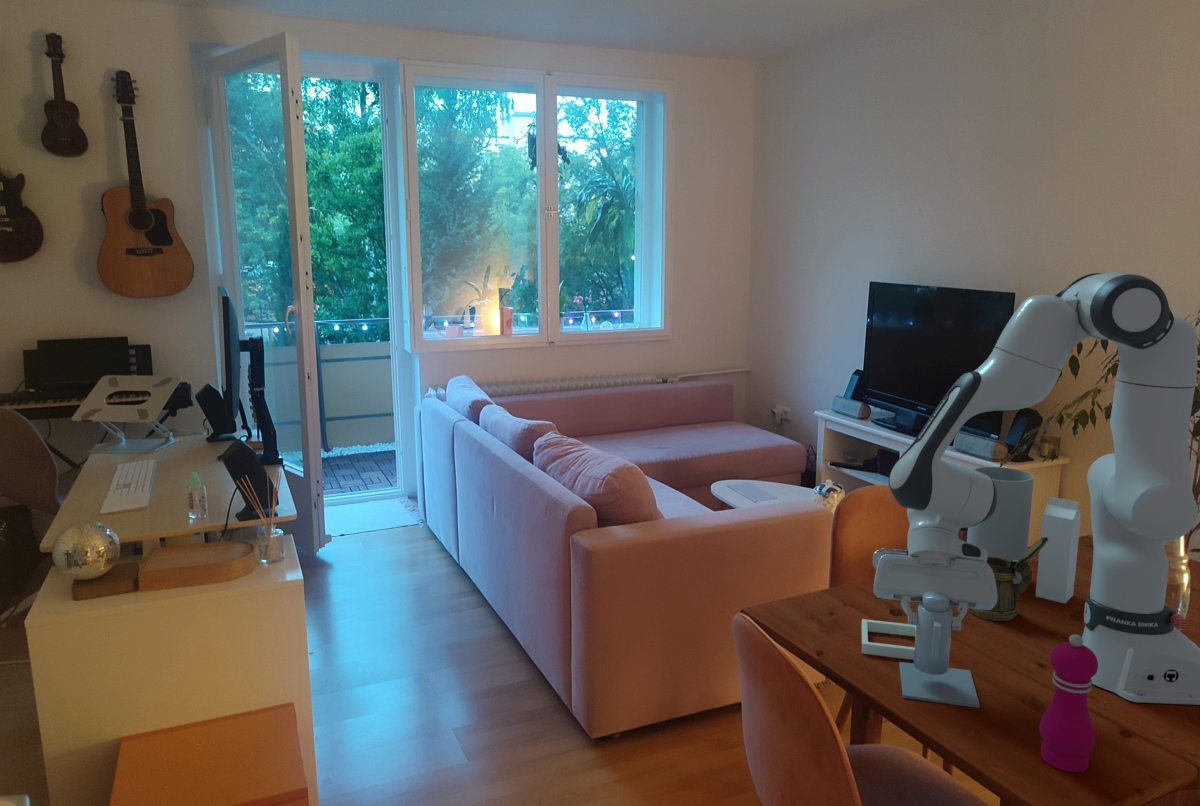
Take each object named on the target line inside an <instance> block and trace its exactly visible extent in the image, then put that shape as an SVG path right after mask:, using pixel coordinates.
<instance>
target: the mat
mask: <svg viewBox="0 0 1200 806" xmlns="http://www.w3.org/2000/svg"><path fill="white" fill-rule="evenodd" d="M898 665H899V674H900V684H901V691H902V698H903V699H909V700H915V701H916V700H917V701H924V702H932V703H938V704H939V703H940V704H947V705H954V706H963V707H969V708H977V709H980V707H981V706H980V701H979V698H978V694H977V690H976V687H975V683H974V679H973V677H972V671H971V669H970V670H969V669H961V668H953V667H948V671H947V672H946V673H945V674H941V675H933V674H927V673H924V672H922V671H919V670H918V669H916V668H915V666H914V662H912V663H911V662H906V661H905V662H904V661H899V662H898Z"/></svg>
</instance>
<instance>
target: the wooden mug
mask: <svg viewBox="0 0 1200 806" xmlns="http://www.w3.org/2000/svg"><path fill="white" fill-rule="evenodd" d="M1047 541H1048V538H1047V537H1044V538H1041V537H1040V538H1039V539H1037V540H1036V541H1035V542H1034V543H1033V544H1031V546H1030V547H1029V548H1028V549H1027V551H1026V552H1025V553H1024V555H1023V556H1022V557H1021V559H1020V560H1011V562H1009V561H1008V560H1006V559H1003V558H998V557H987V564H988V565H989V566H990V567H991V569H992V570H993V573H994V577H995V581H996V587H997V596H998V599H997V603H996V605H995V606H994V607H993V608H992V609H991V610H983V609H974V608H968V611H969V613H971V614H973V615H975V616H976V617H978V618H981V619H983V620H986V621H987V620H988V621H993V622H1006V621H1011V620H1013V619H1015V618H1016V617H1017V615H1018V614H1019V613H1018V611H1019V610H1018V606H1017V605H1018V600H1019V598H1020V597H1021V595H1022V594H1023V593H1024V592H1025V590H1027V588H1028V587H1029V586H1030V585H1031V583H1032V579H1033V571H1032V568H1031V566H1030V564H1029V560H1031V559H1032V558H1033V557H1034V556H1035V555H1036V554H1037V553H1039V551H1040V550H1041V548H1042V547H1043V546H1044V545H1045V544H1046V542H1047ZM1015 572H1019V573H1020V574H1021V576H1022V581H1021V582H1020V583H1019V584H1014V583H1013V579H1014V578H1016V574H1015Z"/></svg>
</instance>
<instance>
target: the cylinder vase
mask: <svg viewBox="0 0 1200 806" xmlns="http://www.w3.org/2000/svg"><path fill="white" fill-rule="evenodd" d="M972 470H975V471H978V472H981V473H983V474H985V475H988V476H990V477H991V479H992V480H993V482H994V484H995V486H996V490H997V505H996V509H995V511H994V513H993V515H992V516H990V517H989V518H988V519H987V520H985V521H983V522H981V523H979V524H977V525H974V526H972V527H969V528H967V533H966V535H967V537H966V542H968V543H970V544H973V545H976V546H979V547H981V548H984V549H985V550H986V551H987V554H988V557H998V558H1003V559H1006V560H1008V561H1009V562H1011V560H1020V559H1021V557H1022V556H1023V555H1024V553H1025V552H1026V551H1027V550H1028V549H1029V548H1028V547H1029V535H1030V534H1029V533H1030V524H1031V514H1032V513H1031V511H1032V499H1033V492H1034V491H1033V488H1034V479H1035V478H1034V475H1033V474H1032V473H1029V472H1027V471H1024V470H1020V469H1018V468H1011V467H1003V466H981V467H976V468H972ZM1015 574H1016V578H1014V579H1013V583H1014V584H1019V583H1020V582H1021V581H1022V576H1021V574H1020V573H1019V572H1015Z"/></svg>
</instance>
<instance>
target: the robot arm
mask: <svg viewBox="0 0 1200 806" xmlns="http://www.w3.org/2000/svg"><path fill="white" fill-rule="evenodd" d="M1169 305H1170V304H1169V301H1168V298H1167V296H1166V293H1165V292H1164V290H1163V289H1162V287H1161V286H1159V285H1158V283H1156V282H1155V281H1153V279H1150V278H1148V277H1146V276H1144V275H1139V274H1131V273H1128V272H1127V273H1126V272H1123V271H1122V272H1121V271H1108V272H1104V273H1102V272H1101V273H1100V272H1095V273H1090V274H1086V275H1083V276H1080V277H1079V278H1077V279H1075V280H1074V281H1072V282H1071V283H1070V284H1068V286H1066V287H1065V288H1064V289H1062V290H1061V291H1059V292H1058V293H1057V294H1055V295H1052V294H1036V295H1035V294H1034V295H1031V296H1029V297H1027V298H1026V299H1024V300H1023V301H1022V302H1021V303H1020V305H1019V306H1018V308H1017V309H1016V310H1015V311H1014V313H1013V314H1012V316H1011V317H1010V319H1009V320H1008V322H1007V323H1006V325H1005V327H1004V328H1003V330H1002V331H1001V333H1000V336H999V338H998V339H997V341H996V343H995V345H994V348H993V349H992V351H991V353H990V354H989V356H988V357H987V358H986V359H985V360H984V362H983V363H982V364H981V365H980V366H978V368H976V369H975V370H973V371H969V372H965V373H963V374H962V375H960V376H959V377H958V379H957V380H956V381H955V382H954V383H953V385H951V387H950V388H949V390H947V393H946V394H945V395H944V396H943V398H942V399H941V401H940V402H939V403H938V405H937V407H936V408H935V410H934V411H933V413H932V414H931V416H930V417H929V418H928V419H927V421H926V423H925V424H924V425H923V427H922V429H921V430H920V432H919V433H918V435H917V436H916V438H914V440H913V442H912V443H911V445H910V446H909V447H908V448H907V449H906V451H905V452H904V453H903V454H902V455H901V456H900V457H899V458H898V459H897V460H896V462H895V463H894V465H893V467H892V468H891V470H890V472H889V476H888V486H889V489H890V492H891V494H892V497H894V501H896V502H897V504H898V505H899V506H900V507H901V508H907V515H906V516H907V519H908V523H909V527H908V531H907V535H906V537H907V538H906V539H907V542H906V544H907V548H906V549H900V548H898V549H896V548H888V547H882V548H881V549H878V550H876V551H874V553H873V555H872V567H873V568H874V570H875V575H874V580H873V591H872V592H873V594H874V595H875V597H876V598H879V599H884V600H885V599H887V600H894V601H895V600H896V601H900V605H901V608H902V609H903V611H904V612H905V614H906V616H907V624H909V625H917V622H918V619H917V617H918V615H917V612H916V611H915V612H914V611H913V610H912V608H911V606H910V605H911V602H912V603H913V602H914V603H920V602H923V594H924V593H926V592H939V593H942V594H945V595H947V596H948V597H949V606H950V607H957V609H956V610H957V612H958V615H957V616H952V628H951V631H952V630H954V631H961V630H962V620H963V618H964V617H965V616H966V614H967V613H968V610H969V608H974V609H983V610H991V609H992V608H993V607H994V606H995V605H996V603H997V599H998V596H997V587H996V581H995V577H994V573H993V570H992V569H991V567H990V566H989V565H988V564H987V557H988V554H987V551H986V550H985V549H984V548H981V547H979V546H976V545H973V544H970V543H968V542H967V541H965V540H962V539H960V537H959V536H960V535H959V531H960V530H961V529H968V528H969V527H972V526H974V525H977V524H979V523H981V522H983V521H985V520H987V519H988V518H989V517H990V516H992V515H993V513H994V511H995V509H996V505H997V490H996V486H995V484H994V482H993V480H992V479H991V477H990V476H988V475H985V474H983V473H981V472H978V471H975V470H973V468H969V467H965V466H961V465H958V464H955V463H952V462H949V461H946V460H943V459H941V458H942V456H943V455H944V453H945V452H946V451H947V449H948V448H949V446H950V444H951V443H952V441H953V440H954V439H955V438H956V436H957V435H958V433H959V432H960V430H961V428H963V426H964V424H965V423H966V422H967V421H968V420H969V419H971V418H973V417H975V416H976V415H979V414H980V415H981V414H982V413H986V412H987V413H988V412H994V411H995V412H996V411H997V412H999V411H1015V410H1022V409H1026V408H1030V407H1033V406H1035V405H1037V404H1039V403H1041V402H1042V401H1044V400H1045V399H1046V398H1047V397H1048V395H1049V394H1050V393H1051V392H1052V390H1053V388H1054V387H1055V385H1056V383H1057V381H1058V379H1059V377H1060V375H1061V373H1062V371H1063V368H1064V367H1065V364H1066V363H1067V360H1068V358H1069V355H1070V353H1072V351H1073V350H1074V349H1075V347H1076V346H1077V345H1078V344H1079V343H1081V342H1083V341H1084V340H1085V339H1087V338H1095V339H1097V340H1098V339H1099V340H1102V341H1110V340H1111V341H1112V342H1113V343H1114V344H1115V346H1116V347H1117V352H1118V360H1119V361H1118V366H1117V372H1116V375H1115V384H1114V393H1113V399H1112V406H1111V413H1110V418H1109V419H1110V420H1109V426H1110V431H1111V434H1112V440H1113V441H1112V442H1113V447H1114V448H1113V451H1114V452H1112V453H1107V454H1105V455H1102V456H1100V457H1098V458H1097V459H1096V460H1095V461H1093V463H1092V464H1091V465H1090V466H1089V468H1088V471H1087V475H1086V482H1087V486H1088V487H1087V488H1088V491H1089V500H1090V520H1091V531H1092V532H1091V533H1092V541H1093V542H1092V545H1093V546H1092V547H1093V553H1092V554H1093V555H1092V557H1093V558H1092V568H1091V577H1090V589H1089V591H1088V592H1087V593H1086V601H1085V603H1084V608H1083V609H1084V611H1083V621H1084V629H1083V633H1082V636H1081V637H1082V639H1083V644H1082V645H1084V646H1086V647H1088V648H1089V649H1090V650H1092V651H1093V653H1094V654H1095V656H1096V658H1097V661H1098V669H1097V673H1096V674H1095V675H1094V676H1093V677H1091V680H1092V684H1091V685H1094V686H1096V687H1099V688H1102V689H1104V690H1108V691H1109V692H1112V693H1114V694H1117V696H1119V697H1121V698H1123V699H1125V700H1127V701H1130V702H1133V703H1142V704H1143V703H1144V704H1145V703H1147V704H1148V703H1149V704H1169V705H1170V704H1171V705H1174V704H1175V705H1194V706H1195V705H1198V706H1199V705H1200V647H1199V646H1198V645H1197V644H1196V643H1195V642H1194V641H1192V640H1191V639H1190V638H1189V637H1187V636H1186V635H1185V634H1183V633H1182V631H1180V630H1184V629H1185V628H1187V627H1188V626H1187V625H1188V621H1187V620H1186V619H1185V618H1184V616H1183V615H1181V614H1178V613H1177V612H1176V610H1174V609H1173V607H1170V606H1169V605H1168V604H1167V603H1166V602H1165V601H1166V595H1167V586H1168V576H1169V570H1170V569H1169V568H1170V563H1169V559H1168V555H1167V552H1166V548H1165V543H1164V542H1169V541H1174V540H1177V539H1180V538H1181V537H1184V536H1185V535H1187V534H1188V533H1189V532H1190V531H1191V530H1192V528H1193V527H1194V526H1195V524H1196V522H1197V520H1198V518H1199V517H1198V515H1199V509H1198V503H1197V501H1196V499H1195V496H1194V493H1193V492H1194V491H1193V487H1192V486H1193V485H1192V476H1191V463H1190V462H1191V460H1190V447H1189V435H1190V432H1189V430H1190V424H1191V423H1190V421H1191V416H1192V415H1191V414H1192V410H1193V404H1194V403H1193V402H1194V394H1195V389H1196V382H1197V375H1198V359H1199V357H1198V356H1199V355H1198V339H1197V332H1196V330H1195V328H1194V326H1193V325H1192V324H1191V323H1189V322H1188V321H1186V320H1185V319H1183V318H1181V317H1178V316H1174V315H1173V313H1172V310H1171V308H1170V306H1169Z"/></svg>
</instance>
